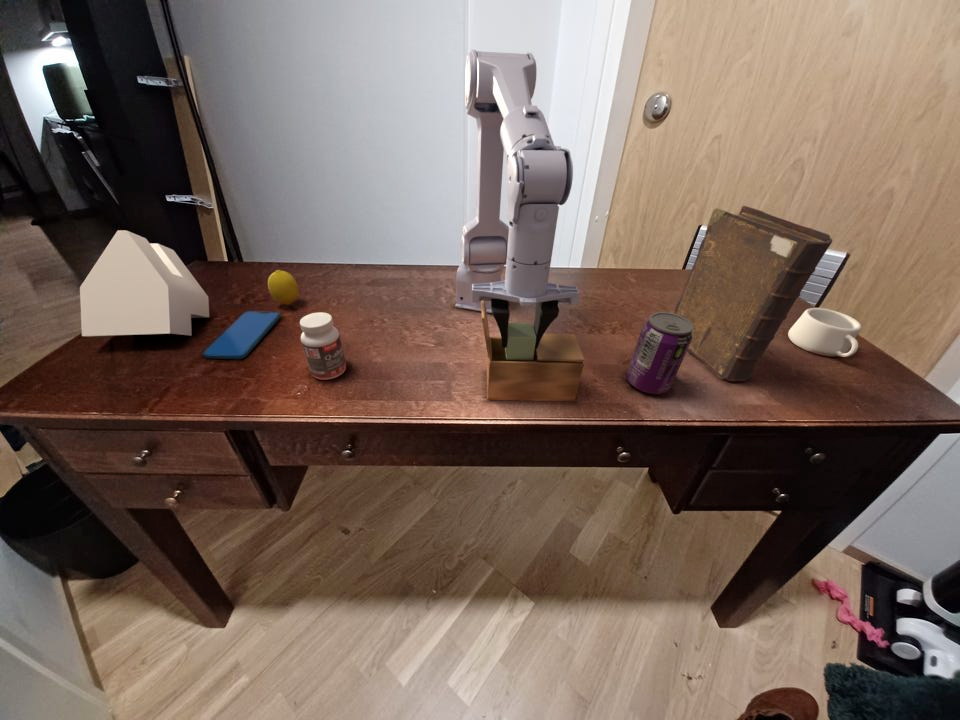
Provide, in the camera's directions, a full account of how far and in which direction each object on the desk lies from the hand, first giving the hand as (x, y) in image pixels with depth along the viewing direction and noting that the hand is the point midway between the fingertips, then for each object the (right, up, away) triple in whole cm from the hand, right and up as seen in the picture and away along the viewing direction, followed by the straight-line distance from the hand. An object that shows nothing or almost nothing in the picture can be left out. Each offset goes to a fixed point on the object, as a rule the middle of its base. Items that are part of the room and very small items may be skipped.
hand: (519, 344), depth 55 cm
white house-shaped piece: (-68, +5, +18) cm, 70 cm away
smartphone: (-50, +2, +14) cm, 52 cm away
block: (0, -1, +1) cm, 1 cm away
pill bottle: (-31, -4, +7) cm, 33 cm away
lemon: (-48, +9, +25) cm, 55 cm away
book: (+36, -2, +14) cm, 39 cm away
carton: (+2, -7, +5) cm, 9 cm away
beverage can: (+22, -7, +7) cm, 24 cm away
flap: (-5, +3, -2) cm, 6 cm away
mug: (+61, 0, +17) cm, 64 cm away
